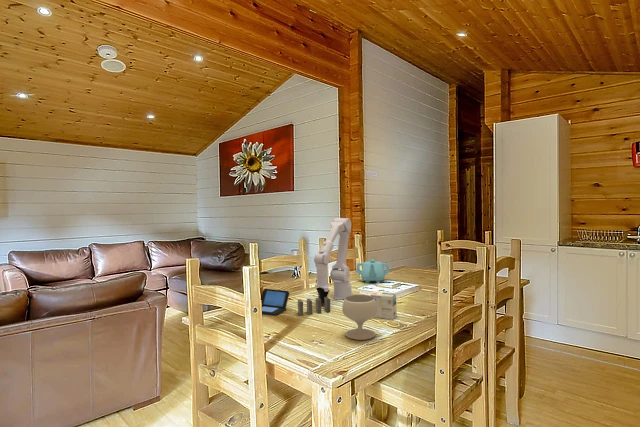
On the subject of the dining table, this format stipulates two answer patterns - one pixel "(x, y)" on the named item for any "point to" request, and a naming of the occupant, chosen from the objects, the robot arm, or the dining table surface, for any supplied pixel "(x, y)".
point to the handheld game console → (274, 301)
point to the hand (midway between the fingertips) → (323, 302)
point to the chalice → (359, 314)
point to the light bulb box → (385, 304)
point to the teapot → (372, 270)
